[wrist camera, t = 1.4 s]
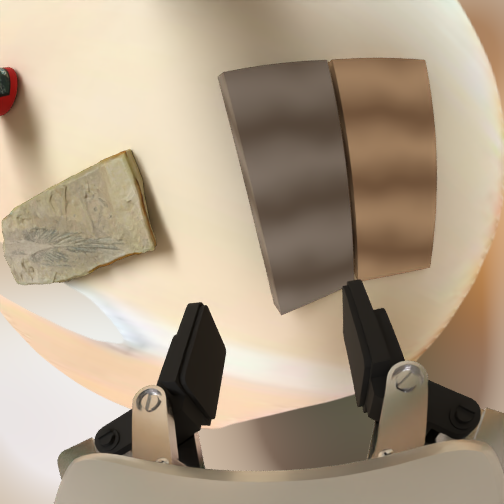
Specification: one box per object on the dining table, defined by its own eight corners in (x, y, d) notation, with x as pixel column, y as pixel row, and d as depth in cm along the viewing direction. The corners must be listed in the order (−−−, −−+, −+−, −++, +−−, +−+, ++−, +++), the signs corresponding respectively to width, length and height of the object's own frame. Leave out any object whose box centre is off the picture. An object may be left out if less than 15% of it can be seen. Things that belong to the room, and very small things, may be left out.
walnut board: (327, 62, 20) (332, 59, 18) (415, 61, 18) (425, 60, 16) (354, 271, 30) (358, 281, 28) (423, 258, 29) (429, 267, 27)
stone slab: (-14, 230, 28) (109, 147, 21) (3, 218, 31) (131, 139, 25) (22, 294, 34) (160, 264, 27) (35, 280, 37) (174, 244, 30)
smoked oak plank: (217, 77, 18) (223, 72, 16) (314, 63, 20) (326, 60, 18) (274, 303, 29) (281, 315, 27) (343, 274, 30) (354, 282, 29)
